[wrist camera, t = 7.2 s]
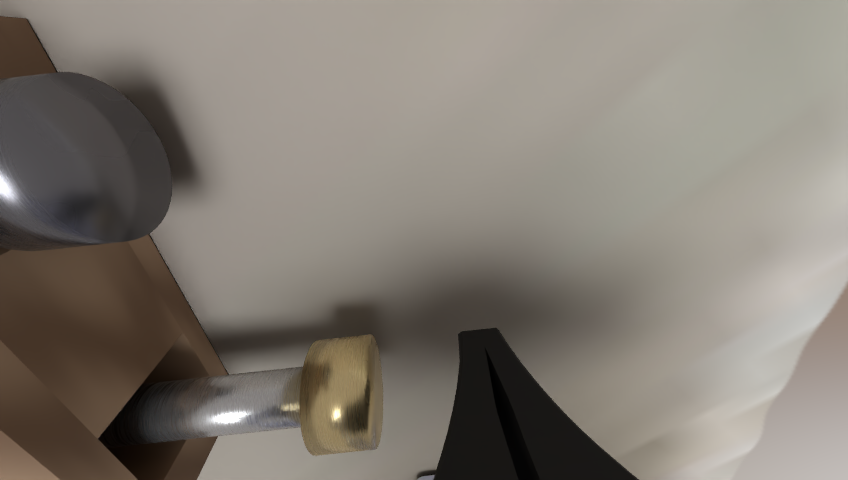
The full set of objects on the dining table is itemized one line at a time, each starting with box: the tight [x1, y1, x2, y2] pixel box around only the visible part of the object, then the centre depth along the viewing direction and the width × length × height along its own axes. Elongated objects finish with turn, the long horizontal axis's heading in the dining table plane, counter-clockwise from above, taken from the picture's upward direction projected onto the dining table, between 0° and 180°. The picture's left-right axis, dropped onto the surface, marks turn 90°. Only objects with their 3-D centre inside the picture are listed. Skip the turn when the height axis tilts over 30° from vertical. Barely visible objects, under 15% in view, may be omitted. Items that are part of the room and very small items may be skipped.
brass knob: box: [98, 334, 383, 456], centre depth 11 cm, size 3×9×3 cm, turn 96°
